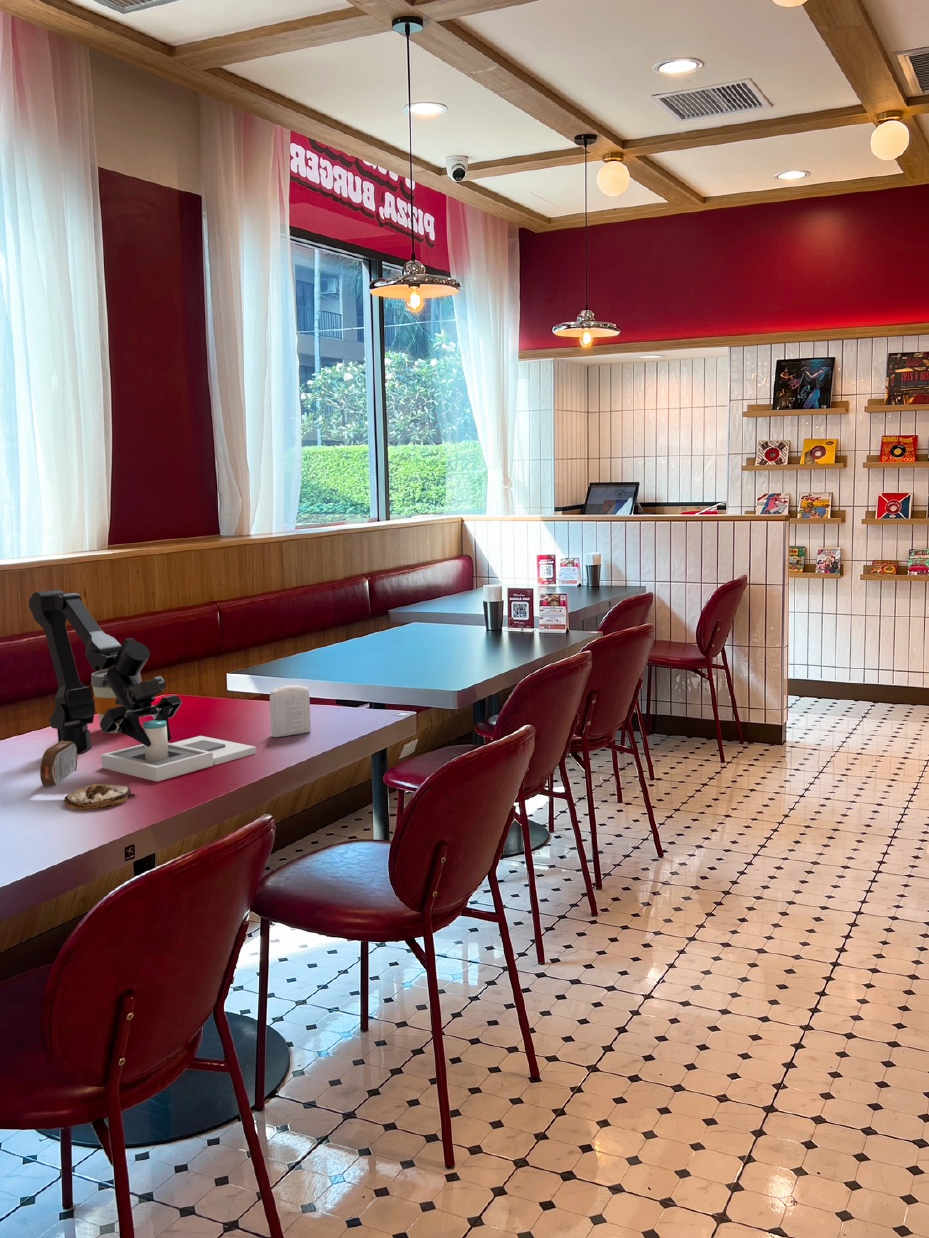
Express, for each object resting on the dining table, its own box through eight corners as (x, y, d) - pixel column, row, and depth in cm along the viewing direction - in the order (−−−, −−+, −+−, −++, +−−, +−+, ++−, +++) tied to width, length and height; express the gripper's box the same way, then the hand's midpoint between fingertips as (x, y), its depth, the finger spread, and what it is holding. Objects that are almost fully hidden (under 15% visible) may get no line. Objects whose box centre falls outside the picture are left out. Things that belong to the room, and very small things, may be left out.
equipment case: (102, 771, 247) (101, 754, 246) (201, 745, 268) (200, 729, 267) (157, 785, 234) (156, 767, 234) (256, 757, 256) (255, 740, 255)
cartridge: (142, 769, 244) (139, 725, 242) (150, 763, 249) (147, 720, 247) (165, 769, 244) (162, 725, 242) (172, 763, 248) (169, 719, 247)
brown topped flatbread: (100, 789, 235) (98, 770, 234) (151, 797, 228) (150, 778, 227) (43, 808, 222) (41, 788, 222) (96, 818, 215) (94, 797, 214)
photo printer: (306, 729, 282) (303, 681, 280) (313, 732, 278) (311, 684, 277) (268, 735, 276) (266, 687, 275) (275, 738, 273) (273, 689, 271)
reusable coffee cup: (144, 732, 284) (140, 674, 282) (92, 736, 281) (88, 678, 279) (145, 721, 296) (141, 666, 294) (96, 725, 293) (92, 670, 291)
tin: (67, 772, 247) (64, 736, 246) (81, 772, 247) (78, 735, 246) (39, 792, 232) (36, 753, 231) (54, 792, 232) (51, 753, 231)
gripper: (103, 673, 238) (137, 729, 233) (174, 659, 253) (208, 712, 248) (85, 704, 244) (118, 760, 239) (155, 690, 259) (188, 742, 253)
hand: (159, 742), depth 245 cm, fingers closed on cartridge, 5 cm apart
